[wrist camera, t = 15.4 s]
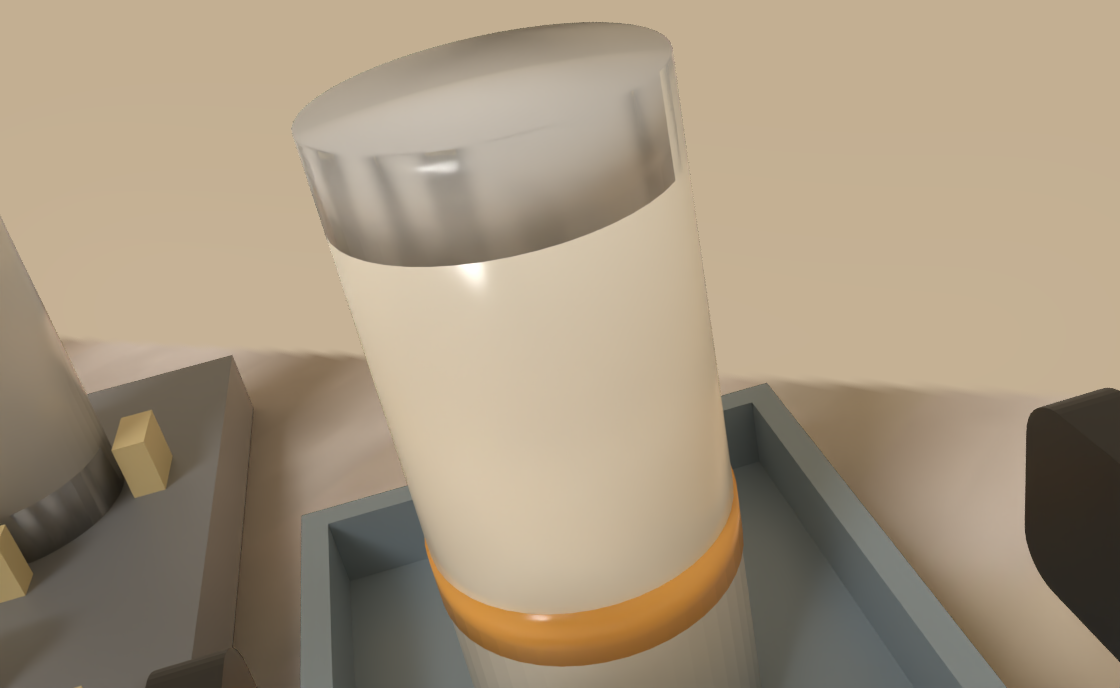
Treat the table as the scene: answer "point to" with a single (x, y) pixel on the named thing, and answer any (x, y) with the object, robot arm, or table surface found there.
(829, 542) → the tray
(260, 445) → the table surface
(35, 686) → the block
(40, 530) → the cylinder
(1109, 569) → the robot arm
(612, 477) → the marked fuse
